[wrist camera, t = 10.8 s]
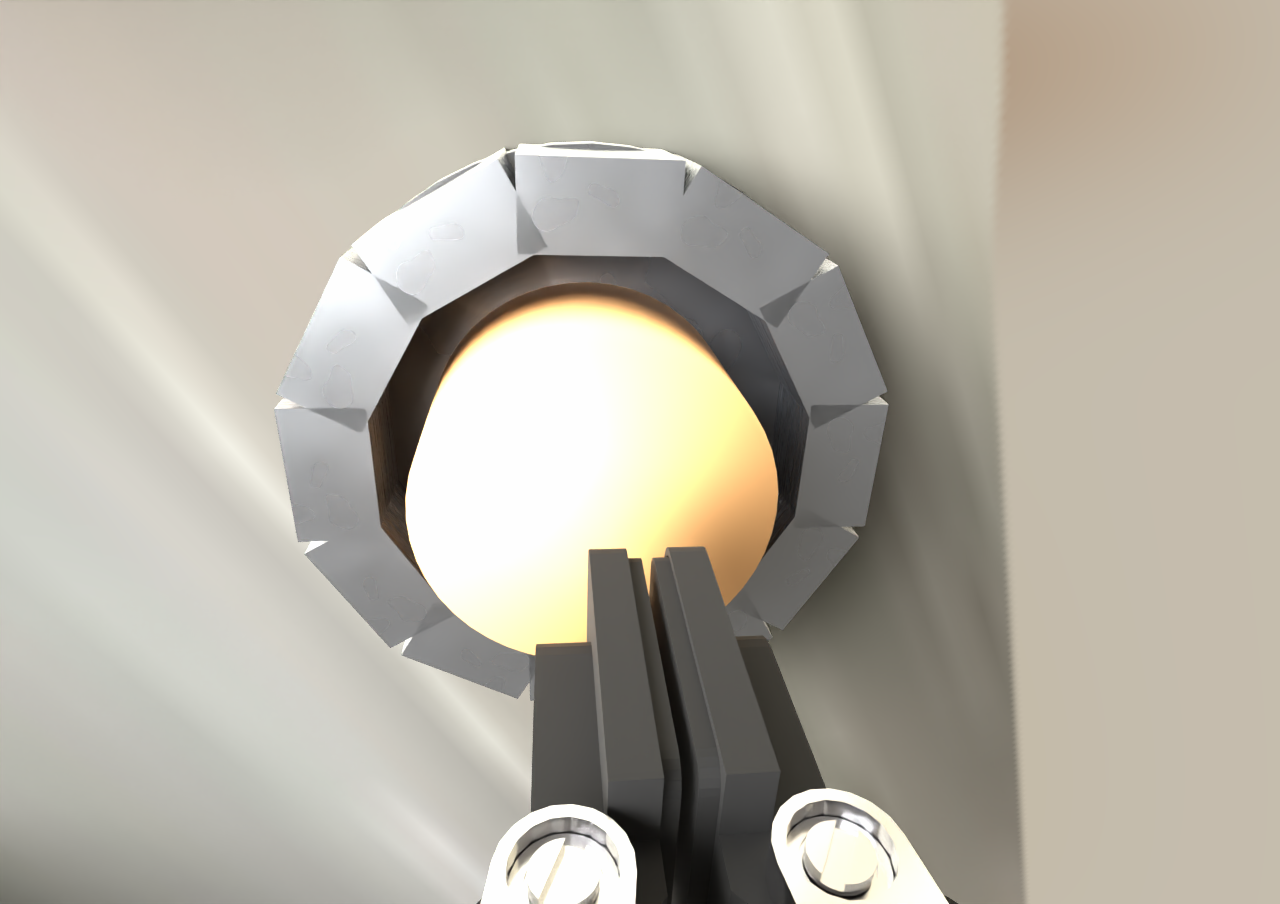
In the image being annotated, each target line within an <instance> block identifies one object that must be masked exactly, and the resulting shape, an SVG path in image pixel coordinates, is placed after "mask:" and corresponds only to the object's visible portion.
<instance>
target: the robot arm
mask: <svg viewBox="0 0 1280 904" xmlns="http://www.w3.org/2000/svg"><path fill="white" fill-rule="evenodd" d="M477 904H958V903H956V902H955V901H953V900H951V899H950V898H948V897H947V896H945V895H943V894H942V892H941V891H940V889H939V888H938V886H937V884H936V883H935V881H934V880H933V878H932V877H931V875H930V874H929V872H928V870H927V869H926V867H925V866H924V864H923V863H922V861H921V859H920V858H919V856H918V855H917V853H916V852H915V850H914V849H913V847H912V845H911V844H910V842H909V841H908V839H907V838H906V836H905V835H904V833H903V832H902V831H901V829H900V828H899V827H898V826H897V825H896V823H895V822H894V821H893V820H892V819H891V817H890V816H889V815H888V814H886V813H885V812H884V811H882V810H881V809H880V808H878V807H877V806H876V805H874V804H873V803H872V802H870V801H868V800H866V799H863V798H861V797H859V796H857V795H855V794H853V793H850V792H845V791H840V790H835V789H830V788H828V789H826V787H825V784H824V782H823V779H822V777H821V774H820V772H819V769H818V766H817V764H816V761H815V759H814V756H813V754H812V751H811V749H810V746H809V744H808V741H807V738H806V736H805V733H804V731H803V728H802V726H801V723H800V721H799V718H798V715H797V713H796V710H795V708H794V705H793V703H792V700H791V698H790V695H789V692H788V690H787V687H786V685H785V682H784V680H783V677H782V675H781V672H780V669H779V667H778V664H777V662H776V659H775V657H774V654H773V652H772V649H771V647H770V645H769V643H768V641H767V639H766V638H765V637H764V636H763V635H761V636H735V634H734V631H733V628H732V625H731V622H730V619H729V616H728V613H727V610H726V607H725V604H724V601H723V598H722V595H721V592H720V589H719V586H718V583H717V580H716V577H715V574H714V571H713V568H712V565H711V562H710V559H709V556H708V553H707V551H706V548H705V547H703V546H697V547H667V548H666V550H665V555H664V557H656V558H652V561H651V572H650V589H649V594H648V589H647V584H646V579H645V573H644V568H643V563H642V559H641V558H628V554H627V549H626V548H612V549H588V578H587V642H575V643H548V644H536V648H535V682H534V718H533V755H532V791H531V813H530V814H528V815H527V816H526V817H524V818H523V819H521V820H520V821H518V822H517V823H515V824H514V825H513V826H512V827H511V828H510V829H509V831H508V832H507V833H506V834H505V835H504V837H503V838H502V839H501V840H500V841H499V843H498V846H497V848H496V851H495V853H494V855H493V858H492V860H491V863H490V867H489V871H488V876H487V880H486V884H485V888H484V892H483V896H482V899H481V900H480V901H479V902H478V903H477Z"/></svg>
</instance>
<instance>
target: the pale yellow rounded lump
mask: <svg viewBox="0 0 1280 904" xmlns="http://www.w3.org/2000/svg"><path fill="white" fill-rule="evenodd" d="M777 501H778V482H777V470H776V466H775V461H774V457H773V452H772V449H771V447H770V444H769V441H768V439H767V436H766V434H765V431H764V429H763V428H762V426H761V424H760V422H759V421H758V419H757V417H756V415H755V414H754V412H753V410H752V409H751V407H750V406H749V404H748V403H747V401H746V400H745V399H744V397H743V396H742V394H741V393H740V391H739V390H738V388H737V387H736V385H735V384H734V382H733V381H732V379H731V378H730V376H729V375H728V373H727V372H726V370H725V369H724V367H723V366H722V365H721V363H720V362H719V360H718V359H717V357H716V356H715V354H714V353H713V351H712V350H711V348H710V347H709V345H708V344H707V343H706V341H705V340H704V339H703V338H702V336H701V335H700V334H699V333H698V331H697V330H696V329H695V328H694V327H693V326H692V325H691V324H690V323H689V322H688V321H687V320H686V319H685V318H683V317H682V316H681V315H680V314H678V313H677V312H675V311H674V310H673V309H671V308H670V307H668V306H667V305H665V304H663V303H662V302H660V301H658V300H656V299H654V298H652V297H650V296H648V295H646V294H643V293H640V292H637V291H635V290H632V289H629V288H625V287H620V286H616V285H611V284H603V283H592V282H582V283H565V284H559V285H553V286H548V287H544V288H541V289H537V290H534V291H531V292H528V293H525V294H523V295H521V296H519V297H516V298H514V299H512V300H510V301H508V302H506V303H504V304H503V305H501V306H500V307H498V308H497V309H495V310H494V311H492V312H490V313H489V314H488V315H487V316H485V317H484V318H483V319H482V320H481V321H480V322H478V323H477V324H476V325H475V326H474V327H473V328H472V329H471V330H470V331H469V332H468V333H467V335H466V336H465V337H464V338H463V339H462V340H461V341H460V343H459V344H458V346H457V347H456V349H455V350H454V352H453V353H452V355H451V356H450V358H449V360H448V362H447V364H446V366H445V368H444V371H443V373H442V375H441V378H440V381H439V384H438V387H437V390H436V393H435V396H434V399H433V402H432V405H431V408H430V411H429V414H428V417H427V420H426V423H425V426H424V429H423V432H422V435H421V438H420V441H419V444H418V447H417V450H416V454H415V457H414V460H413V463H412V467H411V470H410V473H409V478H408V485H407V492H406V522H407V527H408V533H409V539H410V543H411V546H412V549H413V552H414V555H415V558H416V561H417V563H418V565H419V567H420V569H421V571H422V573H423V574H424V576H425V578H426V580H427V582H428V583H429V584H430V586H431V587H432V589H433V590H434V591H435V593H436V594H437V596H438V597H439V598H440V599H441V600H442V601H443V602H444V604H445V605H446V606H447V607H448V608H449V609H450V610H451V611H452V612H453V613H454V614H455V615H457V616H458V617H459V618H460V619H461V620H463V621H464V622H465V623H466V624H468V625H469V626H470V627H472V628H473V629H475V630H477V631H478V632H480V633H481V634H483V635H485V636H486V637H488V638H490V639H492V640H494V641H496V642H498V643H500V644H503V645H505V646H507V647H510V648H512V649H515V650H518V651H521V652H524V653H527V654H531V655H535V648H536V644H548V643H575V642H587V578H588V549H612V548H626V549H627V554H628V558H641V559H642V563H643V568H644V573H645V579H646V584H647V589H648V594H649V589H650V572H651V561H652V558H656V557H664V555H665V550H666V548H667V547H697V546H703V547H705V548H706V551H707V553H708V556H709V559H710V562H711V565H712V568H713V571H714V574H715V577H716V580H717V583H718V586H719V589H720V592H721V595H722V598H723V601H724V604H725V606H726V605H728V604H729V603H730V602H731V600H732V599H733V598H734V597H735V596H736V595H737V594H738V593H739V592H740V590H741V589H742V588H743V587H744V586H745V584H746V583H747V581H748V580H749V579H750V577H751V576H752V574H753V573H754V571H755V570H756V568H757V566H758V564H759V562H760V560H761V559H762V557H763V555H764V553H765V551H766V548H767V545H768V542H769V540H770V537H771V534H772V531H773V527H774V522H775V518H776V513H777Z"/></svg>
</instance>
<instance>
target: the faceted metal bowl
mask: <svg viewBox="0 0 1280 904" xmlns="http://www.w3.org/2000/svg"><path fill="white" fill-rule="evenodd" d="M352 246H353V247H352V248H350V249H349V250H348V251H347V252H345V253H344V254H343V255H342V256H341V257H340V258H339V260H338V263H337V265H336V267H335V269H334V271H333V273H332V275H331V277H330V280H329V282H328V284H327V286H326V288H325V290H324V292H323V295H322V297H321V299H320V301H319V303H318V305H317V307H316V309H315V312H314V314H313V316H312V318H311V320H310V322H309V324H308V326H307V329H306V331H305V333H304V335H303V337H302V339H301V341H300V343H299V346H298V348H297V350H296V352H295V354H294V356H293V358H292V361H291V363H290V365H289V367H288V369H287V371H286V373H285V375H284V378H283V380H282V382H281V384H280V386H279V388H278V390H277V392H276V394H277V395H279V396H281V397H283V398H282V400H281V401H280V402H279V403H278V404H277V406H276V407H275V408H274V411H275V417H276V423H277V428H278V434H279V439H280V445H281V450H282V456H283V461H284V467H285V472H286V478H287V483H288V489H289V494H290V500H291V505H292V511H293V516H294V522H295V528H296V533H297V539H298V542H309V541H311V542H310V544H309V546H308V548H307V550H306V552H305V553H304V554H305V555H306V556H307V557H308V558H309V560H310V561H311V562H312V563H313V564H314V565H315V566H316V567H317V568H318V569H319V570H320V572H321V573H322V574H323V575H324V576H325V577H326V578H327V579H328V580H329V581H330V583H331V584H332V585H333V586H334V587H335V588H336V589H337V590H338V591H339V592H340V593H341V595H342V596H343V597H344V598H345V599H346V600H347V601H348V602H349V603H350V604H351V605H352V607H353V608H354V609H355V610H356V611H357V612H358V613H359V614H360V615H361V616H362V618H363V619H364V620H365V621H366V622H367V623H368V624H369V625H370V626H371V627H372V628H373V630H374V631H375V632H376V633H377V634H378V635H379V636H380V637H381V638H382V639H383V641H384V642H385V643H386V644H387V645H388V646H389V647H390V648H391V647H393V646H395V645H397V644H399V643H401V642H403V641H405V642H404V646H403V650H402V654H401V655H402V656H405V657H407V658H410V659H413V660H416V661H418V662H421V663H424V664H426V665H429V666H432V667H434V668H437V669H440V670H442V671H445V672H448V673H450V674H453V675H456V676H458V677H461V678H464V679H466V680H469V681H472V682H474V683H477V684H480V685H482V686H485V687H488V688H490V689H493V690H496V691H498V692H501V693H504V694H506V695H509V696H512V697H514V698H517V699H518V697H519V696H520V695H521V693H522V692H523V690H524V689H525V687H526V686H527V685H528V683H529V682H530V701H531V700H534V682H535V655H531V654H527V653H524V652H521V651H518V650H515V649H512V648H510V647H507V646H505V645H503V644H500V643H498V642H496V641H494V640H492V639H490V638H488V637H486V636H485V635H483V634H481V633H480V632H478V631H477V630H475V629H473V628H472V627H470V626H469V625H468V624H466V623H465V622H464V621H463V620H461V619H460V618H459V617H458V616H457V615H455V614H454V613H453V612H452V611H451V610H450V609H449V608H448V607H447V606H446V605H445V604H444V602H443V601H442V600H441V599H440V598H439V597H438V596H437V594H436V593H435V591H434V590H433V589H432V587H431V586H430V584H429V583H428V582H427V580H426V578H425V576H424V574H423V573H422V571H421V569H420V567H419V565H418V563H417V561H416V558H415V555H414V552H413V549H412V546H411V543H410V539H409V533H408V527H407V522H406V492H407V485H408V478H409V473H410V470H411V467H412V463H413V460H414V457H415V454H416V450H417V447H418V444H419V441H420V438H421V435H422V432H423V429H424V426H425V423H426V420H427V417H428V414H429V411H430V408H431V405H432V402H433V399H434V396H435V393H436V390H437V387H438V384H439V381H440V378H441V375H442V373H443V371H444V368H445V366H446V364H447V362H448V360H449V358H450V356H451V355H452V353H453V352H454V350H455V349H456V347H457V346H458V344H459V343H460V341H461V340H462V339H463V338H464V337H465V336H466V335H467V333H468V332H469V331H470V330H471V329H472V328H473V327H474V326H475V325H476V324H477V323H478V322H480V321H481V320H482V319H483V318H484V317H485V316H487V315H488V314H489V313H490V312H492V311H494V310H495V309H497V308H498V307H500V306H501V305H503V304H504V303H506V302H508V301H510V300H512V299H514V298H516V297H519V296H521V295H523V294H525V293H528V292H531V291H534V290H537V289H541V288H544V287H548V286H553V285H559V284H565V283H582V282H592V283H603V284H611V285H616V286H620V287H625V288H629V289H632V290H635V291H637V292H640V293H643V294H646V295H648V296H650V297H652V298H654V299H656V300H658V301H660V302H662V303H663V304H665V305H667V306H668V307H670V308H671V309H673V310H674V311H675V312H677V313H678V314H680V315H681V316H682V317H683V318H685V319H686V320H687V321H688V322H689V323H690V324H691V325H692V326H693V327H694V328H695V329H696V330H697V331H698V333H699V334H700V335H701V336H702V338H703V339H704V340H705V341H706V343H707V344H708V345H709V347H710V348H711V350H712V351H713V353H714V354H715V356H716V357H717V359H718V360H719V362H720V363H721V365H722V366H723V367H724V369H725V370H726V372H727V373H728V375H729V376H730V378H731V379H732V381H733V382H734V384H735V385H736V387H737V388H738V390H739V391H740V393H741V394H742V396H743V397H744V399H745V400H746V401H747V403H748V404H749V406H750V407H751V409H752V410H753V412H754V414H755V415H756V417H757V419H758V421H759V422H760V424H761V426H762V428H763V429H764V431H765V434H766V436H767V439H768V441H769V444H770V447H771V449H772V452H773V457H774V461H775V466H776V470H777V482H778V501H777V513H776V518H775V522H774V527H773V531H772V534H771V537H770V540H769V542H768V545H767V548H766V551H765V553H764V555H763V557H762V559H761V560H760V562H759V564H758V566H757V568H756V570H755V571H754V573H753V574H752V576H751V577H750V579H749V580H748V581H747V583H746V584H745V586H744V587H743V588H742V589H741V590H740V592H739V593H738V594H737V595H736V596H735V597H734V598H733V599H732V600H731V602H730V603H729V604H728V605H726V606H725V607H726V610H727V613H728V616H729V619H730V622H731V625H732V628H733V631H734V634H735V636H761V635H763V636H764V637H765V638H766V639H767V641H768V640H770V639H772V638H773V637H772V635H771V632H770V630H769V628H768V625H767V623H768V624H770V625H772V626H774V627H776V628H779V629H781V630H783V629H784V628H785V627H786V626H787V625H788V623H789V622H790V621H791V620H792V618H793V617H794V616H795V615H796V614H797V612H798V611H799V610H800V609H801V608H802V606H803V605H804V604H805V603H806V601H807V600H808V599H809V598H810V597H811V595H812V594H813V593H814V592H815V591H816V589H817V588H818V587H819V586H820V585H821V583H822V582H823V581H824V580H825V578H826V577H827V576H828V575H829V574H830V572H831V571H832V570H833V569H834V568H835V566H836V565H837V564H838V563H839V561H840V560H841V559H842V558H843V557H844V555H845V554H846V553H847V552H848V551H849V549H850V548H851V547H852V546H853V544H854V543H855V542H856V541H857V540H858V538H859V536H858V535H857V534H856V532H855V531H854V529H853V528H852V527H853V526H865V523H866V518H867V513H868V508H869V502H870V497H871V492H872V487H873V482H874V477H875V472H876V467H877V462H878V457H879V452H880V447H881V441H882V436H883V431H884V426H885V421H886V416H887V411H888V406H889V404H887V403H886V402H885V401H884V400H883V399H882V398H881V397H880V395H882V394H884V393H885V392H887V388H886V386H885V383H884V381H883V378H882V376H881V373H880V370H879V368H878V365H877V363H876V360H875V358H874V355H873V353H872V350H871V348H870V345H869V342H868V340H867V337H866V335H865V332H864V330H863V327H862V325H861V322H860V319H859V317H858V314H857V312H856V309H855V307H854V304H853V302H852V299H851V297H850V294H849V291H848V289H847V286H846V284H845V281H844V279H843V276H842V274H841V271H840V269H839V266H838V265H836V264H835V263H833V262H831V261H830V260H828V259H826V258H827V256H828V255H829V253H827V252H826V251H824V250H823V249H821V248H820V247H819V246H817V245H816V244H814V243H813V242H811V241H810V240H808V239H807V238H806V237H804V236H803V235H801V234H800V233H798V232H797V231H795V230H794V229H793V228H791V227H790V226H788V225H787V224H785V223H784V222H782V221H781V220H779V219H778V218H777V217H775V216H774V215H772V214H771V213H769V212H768V211H766V210H765V209H764V208H762V207H761V206H759V205H758V204H756V203H755V202H754V201H753V200H751V199H750V198H749V197H748V196H746V195H745V194H744V193H743V192H741V191H739V190H738V189H736V188H734V187H733V186H731V185H729V184H728V183H726V182H725V181H723V180H722V179H720V178H719V177H717V176H716V175H714V174H713V173H712V172H710V171H709V170H707V169H706V168H704V167H703V166H701V165H699V164H697V163H695V162H693V161H690V160H688V159H686V158H684V157H682V156H680V155H677V154H674V155H673V154H671V153H669V152H667V151H665V150H663V149H652V148H638V147H634V146H630V145H622V144H613V143H604V142H594V141H581V142H552V143H546V144H519V145H518V148H517V149H512V150H509V151H506V149H505V147H504V148H503V149H501V150H499V151H498V152H496V153H494V154H492V155H491V156H489V157H487V158H485V159H482V160H479V161H476V162H474V163H472V164H470V165H468V166H466V167H464V168H462V169H460V170H458V171H456V172H454V173H452V174H450V175H448V176H446V177H444V178H442V179H440V180H438V181H437V182H436V183H434V184H433V185H431V186H430V187H428V188H427V189H425V190H424V191H423V192H421V193H420V194H418V195H417V196H415V197H414V198H412V199H411V200H410V201H408V202H407V203H406V204H405V205H403V206H402V207H401V208H400V209H399V210H397V211H396V212H394V213H392V214H391V215H389V216H387V217H385V218H384V219H382V220H381V221H380V222H379V223H377V224H376V225H375V226H374V227H373V228H371V229H370V230H369V231H368V232H366V233H365V234H364V235H363V236H361V237H360V238H359V239H358V240H356V241H355V242H354V243H353V244H352Z"/></svg>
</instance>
